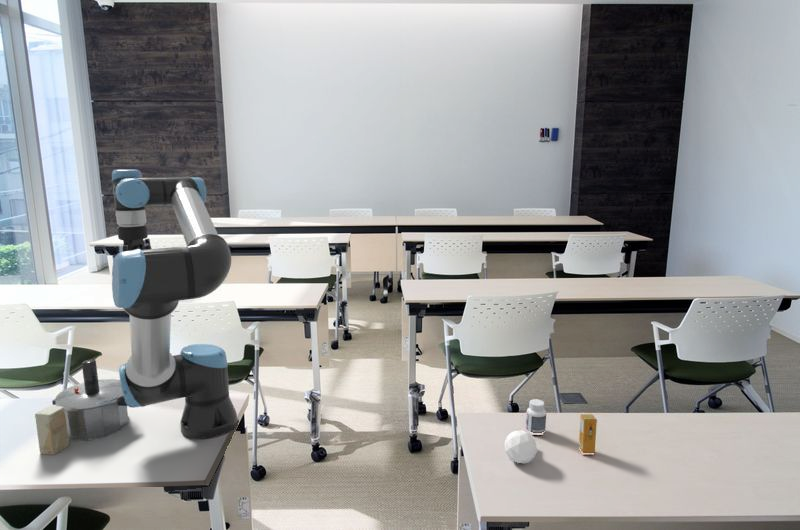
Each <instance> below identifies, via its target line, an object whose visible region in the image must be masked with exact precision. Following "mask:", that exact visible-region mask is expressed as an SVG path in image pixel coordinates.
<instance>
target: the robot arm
mask: <svg viewBox="0 0 800 530" xmlns="http://www.w3.org/2000/svg"><path fill="white" fill-rule="evenodd" d="M111 184H112V192H113V198H114V199H113V200H114V205H115V207H114V208H115V214H114V215H115V219H116V224H117V225H118V226H117V228H116V229H117V237H118V240H120V241H123V244H122V245H119V244H118V245H116V255H115V257H114V258H113V263H112V270H111V271H112V272H111V277H112V278H111V279H112V280H111V291H112V292H111V293H112V299H113V303H114V305H115V307H117V308H119V309H123V311H124V312H125V313H127V314H128V315H129V328H130V329H129V330H130V332H129V333H130V348H131V356H129V358H128V359H127V362H125V363H123V364H121V365H120V366H119V368H118V371H119V372H118V374H119V380H120V382H121V387H122V391H123V395H124V399H125V402H126V404H127V405H128V406H127V407H128V408H132V409H133V408H140V407H141V408H144V407H147V406H151V405H155V404H156V405H157V404H160V403H164V402H165V403H166V402H168V401H173V400H178V399H182V398H184V401H185V404H184V407H183V411H182V415H181V419H180V424H179V425H180V432H181V433H182V435H184V436H186V437H187V438H191V439H209V438H215V437H219V436H221V435H224V434H227V433H229V432H230V431H231V430H233V429H234V428H235V427H236V426H237V423H238V413H237V411H236V408H235V406H234V404H233V401H232V400H231V398H230V391H229V390H230V388H229V372H228V367H229V366H228V365H229V364H228V358H227V354H226V351H225V350H224V349H223V348H222V347H221V346H218V345H214V344H208V343H207V344H206V343H196V344H189V345H187V346H184V347H183V348H182V349H181V351H180V353H179V354H175V355H173V354H172V353H171V330H172V329H171V327H172V325H171V324H172V323H171V321H172V314H173V313H174V311H175V310H176V309H177V307H178V305H179V302H181V301H187V300H194V299H201V298H204V297H206V296H208V295H210V294H212V293H213V292H215V291H216V290H217V289H218V288H220V286H222V284H223V283H224V281H225V280H226V279H227V277H228V274H229V272H230V269H231V267H232V254H231V253H232V252H231V249H230V247H229V245H228V243H227V241H226V240H225V238H223V237H222V236H221V235H219V234H218V232H217V229H216V227H215V225H214V223H213V220H212V218H211V216H210V214H209V211H208V209H207V207H206V205H205V203H206V200H207V187H206V182H205V181H204V179H203V178H202V177H198V176H197V177H193V176H185V177H184V176H183V177H181V176H179V177H178V176H177V177H143V175H142V172H141V170H139V169H114V170H113V171H112V172H111ZM158 206H159V207H163V206H165V207H166V206H172V208H173V210H174V214H175V216H176V219H177V222H178V225H179V227H180V230H181V234H182V237H183V238H184V241H185V244H186V246H184V245H183V246H174V247H173V246H172V247H162V248H152V245H151V240H150V238H148V236H149V234H148V227H147V225H146V223H147V222H148V221H147V213H146V207H158Z"/></svg>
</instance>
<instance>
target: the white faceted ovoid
mask: <svg viewBox="0 0 800 530" xmlns="http://www.w3.org/2000/svg"><path fill="white" fill-rule="evenodd" d="M503 445H504V449H505V453H506V455H507V456H508V458H509V460H510V461H512V462H514V463H516V462H517V463H516V464H518V463H522V464H528V463H529V462H531V461H533V460H534V459H535V457H536V454H537V452H538V447H537V442H536V439H535V438H534V436H533V435H531V434H530V433H528V432H526V430H520V429H519V430H514V431H512V432H510V433H509V434H507V437H506V439H505V441H504V444H503Z"/></svg>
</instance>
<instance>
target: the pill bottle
mask: <svg viewBox="0 0 800 530" xmlns="http://www.w3.org/2000/svg"><path fill="white" fill-rule="evenodd" d="M528 405H529V407H527V409H526V420H525V430H526V429H527V430H528V431H530V432H533V433H542V432H544V431H545V432H546V425H547V411H546V409H545V402H544V401H543V400H542V399H537V398H535V399H534V398H533V399H531V400H529V404H528Z"/></svg>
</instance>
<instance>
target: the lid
mask: <svg viewBox="0 0 800 530" xmlns="http://www.w3.org/2000/svg"><path fill="white" fill-rule="evenodd" d="M81 368H82V377H83V382H80V383H77V384H74V385H73V386H70V387H67V388H66V389H63V390H62V391H60V392H59V393H58V394H57V395H56V397H55V402H56V405H55V406H60V407H64V410H67V411H82V410H90V409H95V408H99V407H103V406H106V405H109V404H111V403H114V402H116V401H118V400H120V399H121V398H123V397H124V395H123V391H122V387H121V382H120V379H116V378H115V379H114V378H104V379H99V376H98V367H97V360H96V359H86V360H84V361H82V362H81Z"/></svg>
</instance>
